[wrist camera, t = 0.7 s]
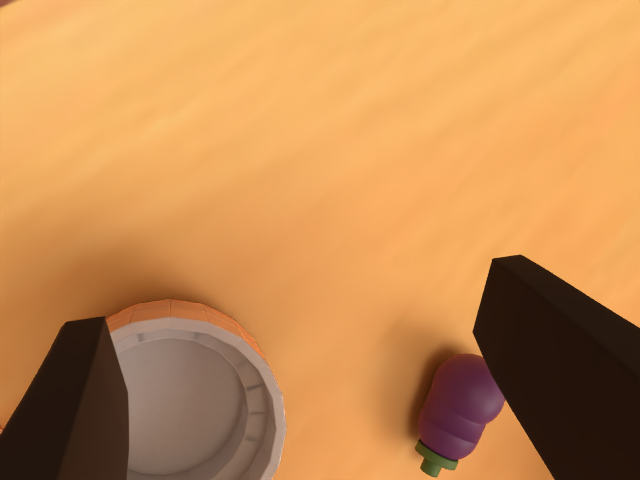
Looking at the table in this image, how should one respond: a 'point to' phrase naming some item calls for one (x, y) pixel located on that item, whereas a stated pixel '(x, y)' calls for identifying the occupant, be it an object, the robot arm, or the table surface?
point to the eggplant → (456, 412)
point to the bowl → (196, 395)
